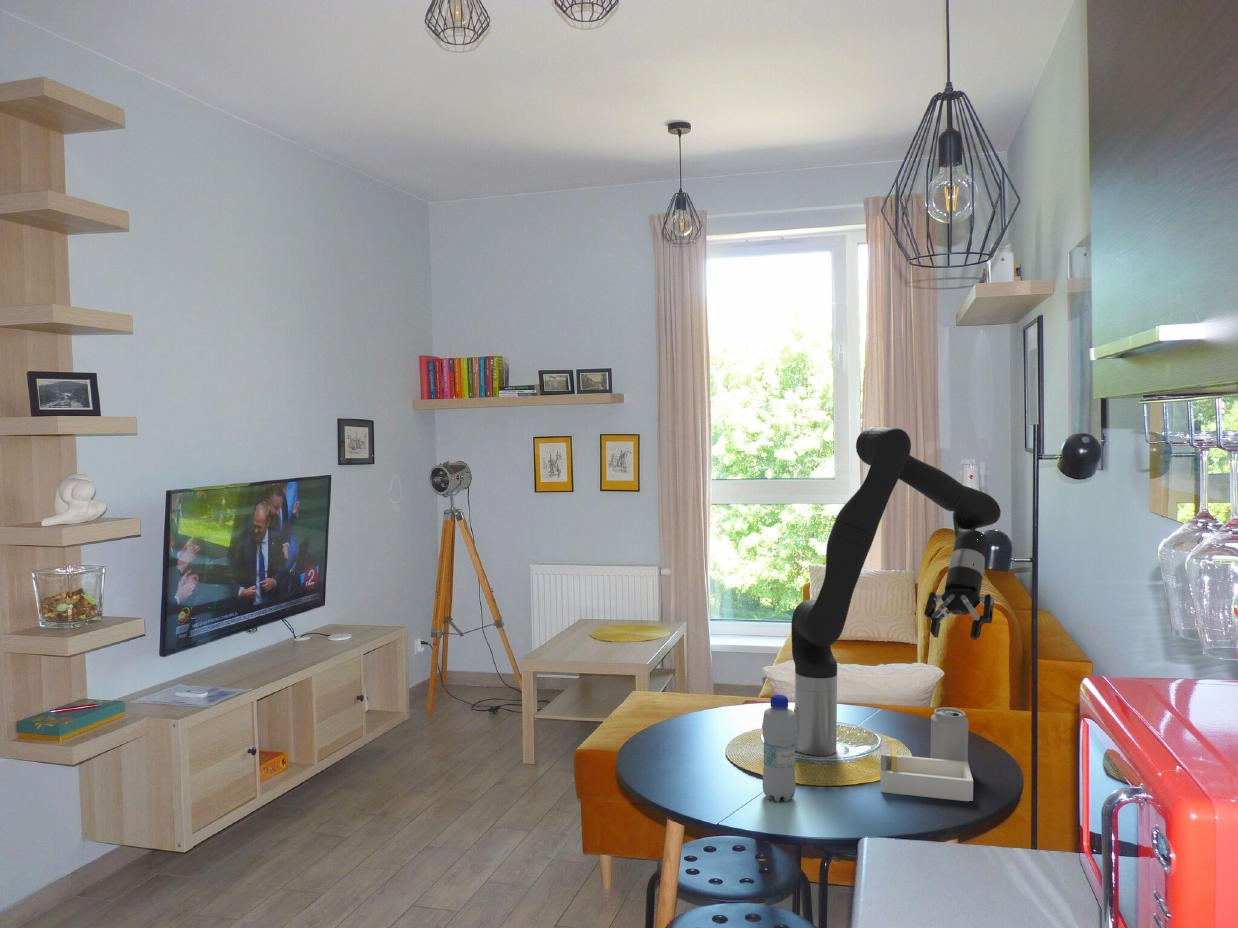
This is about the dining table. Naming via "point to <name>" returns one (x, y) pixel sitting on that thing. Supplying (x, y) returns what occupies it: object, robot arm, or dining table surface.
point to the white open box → (926, 777)
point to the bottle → (779, 749)
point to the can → (949, 735)
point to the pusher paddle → (893, 758)
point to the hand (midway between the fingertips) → (953, 637)
